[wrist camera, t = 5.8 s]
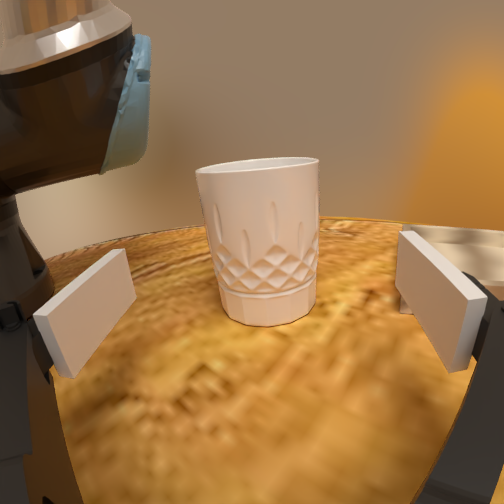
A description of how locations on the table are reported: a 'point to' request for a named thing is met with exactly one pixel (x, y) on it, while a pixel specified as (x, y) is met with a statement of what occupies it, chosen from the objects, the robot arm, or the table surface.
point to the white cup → (263, 236)
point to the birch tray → (467, 254)
